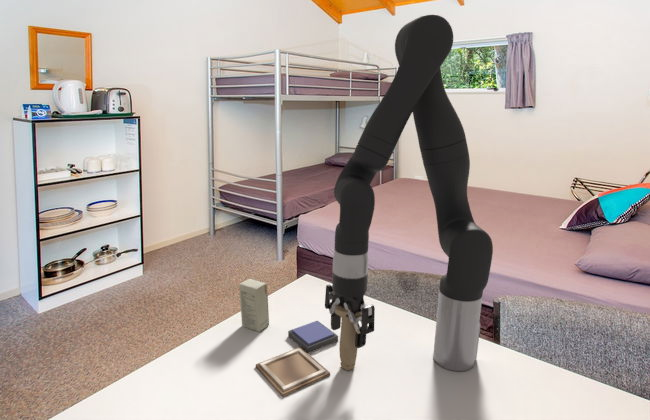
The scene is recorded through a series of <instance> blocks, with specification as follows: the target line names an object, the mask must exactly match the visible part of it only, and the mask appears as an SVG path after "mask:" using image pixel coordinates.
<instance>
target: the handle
mask: <svg viewBox="0 0 650 420" xmlns="http://www.w3.org/2000/svg"><path fill="white" fill-rule="evenodd" d="M361 312H362V311H360V312H357V313H356V314H354V317H355V318H358V317H361V316H362V315H361ZM335 313H336V314H337V315H339V316H340V317H341V326H340V336H339V337H340V338H339V346H338V347H339V358H340V362H339V363H340V368H341V369H344V371H347V372H348V371H350V370H354V369H355V366H356V362H357V355H358V348H357V347H355V334H356V329H355V327H354V324H353V323H351V321H350V318H349V316H348V313H347V311H346V310H345V308H343V307H342V306H340V305H339V306H337V305H335Z"/></svg>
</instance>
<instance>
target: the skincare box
mask: <svg viewBox="0 0 650 420" xmlns="http://www.w3.org/2000/svg"><path fill="white" fill-rule="evenodd" d="M238 287H239V298H240V299H239V300H240V313H241V315H240V316H241V325H242V327H245V328H247V329H250V330H252V331H256V332H259V333H260V332H261V331H262V330H264V329H266V328H267V327H268V326H269V325H270V315H269V312H270V311H269V295H268V283H267V282H264V281H262V280H257V279H255V278H248V279H246V280H244V281H242V282H240V283H238Z"/></svg>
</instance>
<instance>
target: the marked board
mask: <svg viewBox="0 0 650 420" xmlns="http://www.w3.org/2000/svg"><path fill="white" fill-rule="evenodd" d="M255 368H256V369H257V370H258V371H259V372H260V373H261V374H262V376H263V377H264V378H265V379H266V380H267V381H268V382H269V383H270V384H271V386H272V387H273V388H274V389H275V390H276V391H277V392H278V393H279V395H280V396H282V397H285V396H287V395H290V394H292V393H295V392H296V391H298V390H301V389H303V388H305V387H307V386H309V385H312V384H314V383H316V382H318V381H320V380H322V379H325V378H327V377H329V376H331V372H330V371H328V369H327V368H325V367H324V366H323V365H322V364H321V363H320V362H318V361H317V360H316V359H315V357H313V356H312V355H311V354H310V353H307V352H306V351H305V350H304V349H302V348H301V347H300V346H299V347H297V348H295V349H292V350H289V351H286V352H284V353H281V354H279V355H276V356H273V357H271V358H268V359H266V360H263V361H261V362H258V363H256V364H255Z"/></svg>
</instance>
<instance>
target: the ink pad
mask: <svg viewBox="0 0 650 420" xmlns="http://www.w3.org/2000/svg"><path fill="white" fill-rule="evenodd" d="M287 335H288V337H289V338H290V339H291V340H292V341H293V342H295V344H297V346H299V347H301V348H302V349H304V350H305V351H306V352H307V353H308V354H310V353H313V352H315V351H317V350H320V349H322V348H325V347H327V346H329V345H333V344H334V343H336V342H339V335H338V334H336V333H335V332H334V331H332V329H331V328H328V327H327V326H325V325H324V324H323V323H322V322H320V321H319V320H315V321H312V322H309V323H306V324H303V325H301V326H299V327H296V328H293V329H290V330H288V333H287Z"/></svg>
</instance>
